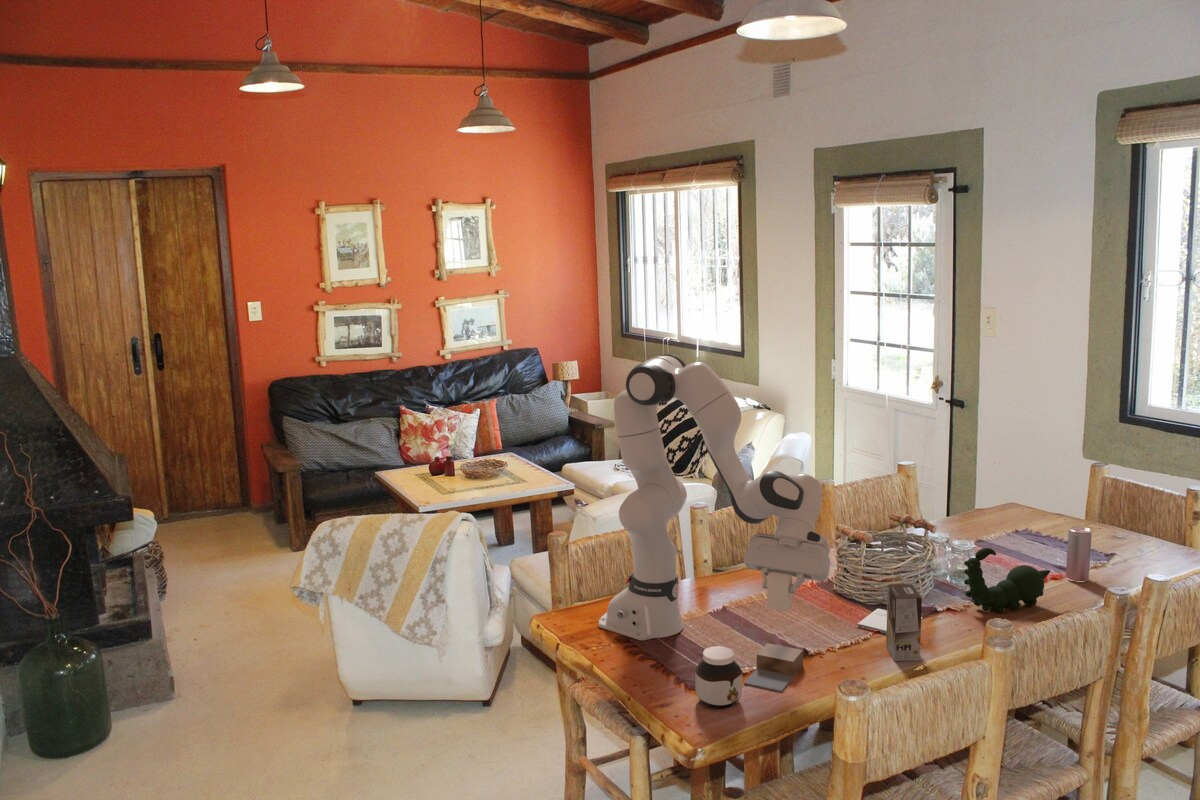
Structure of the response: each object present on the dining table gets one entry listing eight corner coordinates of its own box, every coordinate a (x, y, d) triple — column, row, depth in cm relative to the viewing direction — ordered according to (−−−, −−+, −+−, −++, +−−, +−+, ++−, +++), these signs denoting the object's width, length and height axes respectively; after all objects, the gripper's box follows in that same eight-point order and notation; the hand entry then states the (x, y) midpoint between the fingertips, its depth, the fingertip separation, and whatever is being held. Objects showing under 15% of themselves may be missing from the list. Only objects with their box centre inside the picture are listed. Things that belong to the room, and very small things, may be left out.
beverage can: (1062, 575, 294) (1065, 526, 291) (1084, 576, 293) (1087, 526, 290) (1069, 583, 288) (1072, 532, 285) (1091, 583, 288) (1094, 533, 285)
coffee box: (921, 661, 244) (923, 598, 240) (894, 661, 244) (895, 598, 241) (910, 644, 253) (912, 583, 249) (884, 645, 253) (886, 584, 250)
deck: (756, 670, 242) (756, 654, 241) (767, 658, 248) (767, 643, 247) (793, 677, 237) (793, 661, 236) (802, 665, 243) (803, 649, 242)
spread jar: (708, 714, 222) (708, 664, 220) (682, 692, 232) (681, 644, 230) (754, 701, 227) (754, 652, 225) (727, 680, 237) (727, 634, 235)
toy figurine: (980, 626, 266) (1062, 605, 272) (977, 558, 262) (1061, 539, 268) (959, 612, 275) (1039, 593, 281) (956, 546, 271) (1037, 528, 276)
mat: (744, 684, 235) (744, 682, 235) (756, 670, 242) (756, 668, 242) (781, 692, 230) (781, 690, 230) (793, 677, 237) (793, 676, 237)
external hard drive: (856, 629, 264) (876, 613, 273) (886, 636, 259) (906, 620, 268) (856, 623, 264) (876, 607, 273) (887, 630, 259) (906, 614, 268)
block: (766, 608, 239) (767, 576, 238) (771, 603, 242) (771, 571, 240) (787, 611, 237) (787, 579, 235) (791, 607, 240) (792, 575, 238)
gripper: (748, 525, 247) (733, 577, 241) (831, 538, 237) (817, 591, 231) (755, 537, 252) (740, 588, 245) (836, 550, 242) (823, 603, 236)
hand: (778, 590), depth 238 cm, fingers closed on block, 5 cm apart
